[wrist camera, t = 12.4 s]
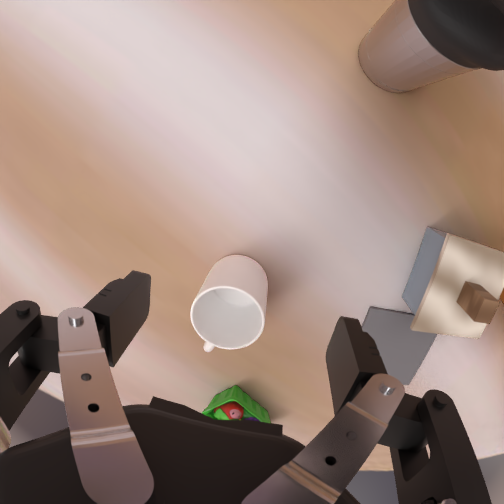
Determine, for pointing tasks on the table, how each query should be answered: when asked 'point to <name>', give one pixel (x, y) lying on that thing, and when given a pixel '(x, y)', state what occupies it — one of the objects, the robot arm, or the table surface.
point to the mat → (398, 342)
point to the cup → (231, 304)
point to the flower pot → (502, 296)
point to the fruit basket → (235, 407)
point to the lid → (461, 289)
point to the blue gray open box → (423, 267)
